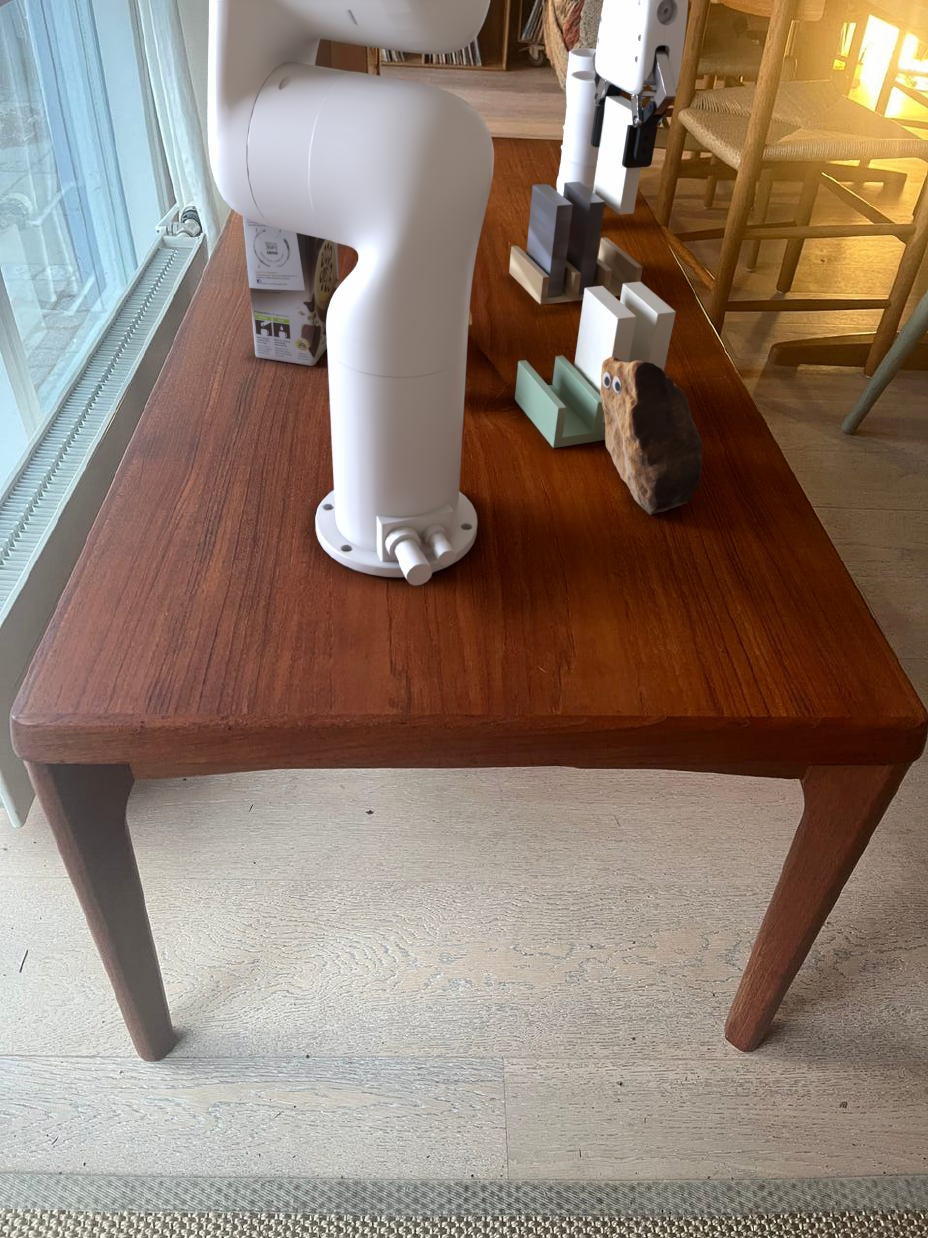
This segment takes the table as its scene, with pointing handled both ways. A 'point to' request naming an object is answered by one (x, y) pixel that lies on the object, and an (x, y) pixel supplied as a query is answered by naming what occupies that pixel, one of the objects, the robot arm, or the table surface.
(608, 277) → the wooden rack with slabs
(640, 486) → the decorative rock
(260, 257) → the coffee box
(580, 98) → the binoculars
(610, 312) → the green and white rack
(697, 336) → the table surface
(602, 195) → the cream book
